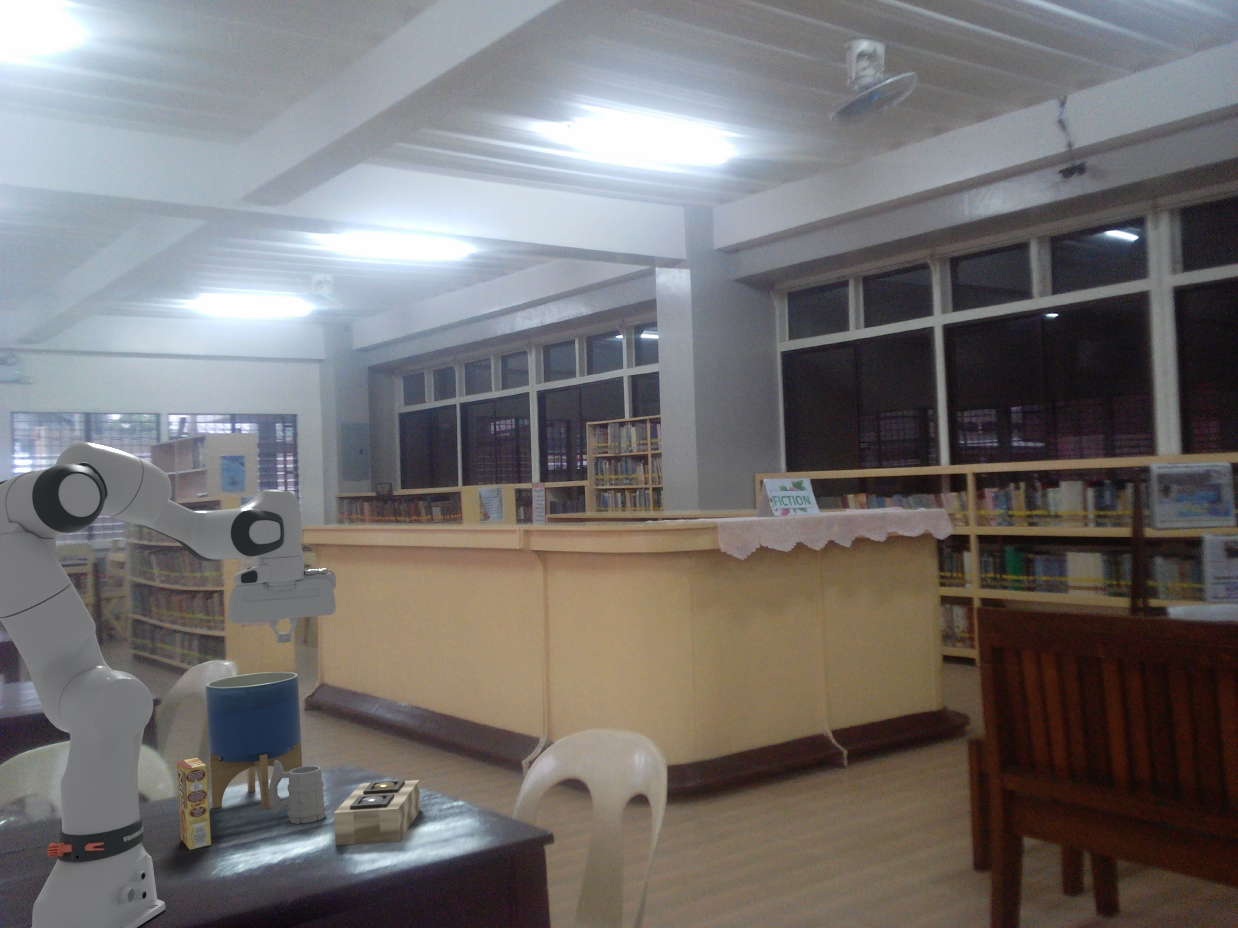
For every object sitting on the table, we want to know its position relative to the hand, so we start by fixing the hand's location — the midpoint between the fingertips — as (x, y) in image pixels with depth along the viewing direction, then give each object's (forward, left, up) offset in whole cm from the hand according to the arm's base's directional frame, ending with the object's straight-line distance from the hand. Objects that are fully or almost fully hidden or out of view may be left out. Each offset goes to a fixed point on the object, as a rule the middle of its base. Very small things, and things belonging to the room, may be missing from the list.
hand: (284, 642), depth 206 cm
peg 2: (+5, -17, -37) cm, 41 cm away
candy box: (-3, +18, -37) cm, 41 cm away
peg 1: (-5, -17, -37) cm, 41 cm away
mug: (+9, +2, -37) cm, 38 cm away
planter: (+26, +16, -37) cm, 48 cm away
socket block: (0, -17, -37) cm, 41 cm away
